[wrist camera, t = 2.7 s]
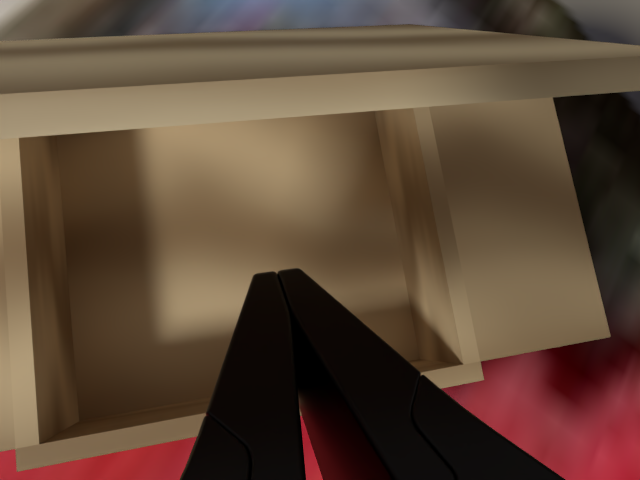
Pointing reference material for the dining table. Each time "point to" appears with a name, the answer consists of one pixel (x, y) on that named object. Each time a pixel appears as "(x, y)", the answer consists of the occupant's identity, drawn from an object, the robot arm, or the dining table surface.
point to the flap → (288, 75)
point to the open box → (274, 256)
